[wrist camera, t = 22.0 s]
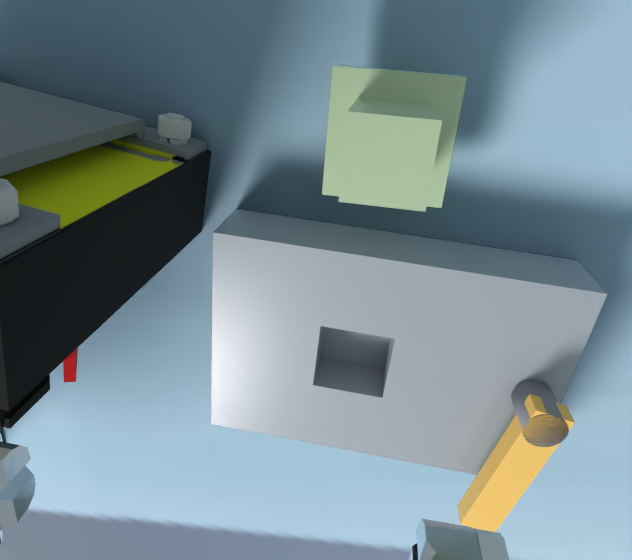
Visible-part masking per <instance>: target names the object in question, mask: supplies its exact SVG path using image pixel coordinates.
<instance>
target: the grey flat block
mask: <svg viewBox="0 0 632 560" xmlns="http://www.w3.org/2000/svg"><path fill="white" fill-rule="evenodd" d="M606 297H607V293H606V292H605V290H604V289H603V288H602V287H601V286H600V285H599V283H598V282H597V281H596V280H595V279H594V278H593V276H592V275H591V274H590V273H589V272H588V271H587V270H586V268H585V267H584V266H583V265H582V264H581V263H580V261H579V260H573V259H566V258H559V257H553V256H546V255H540V254H533V253H526V252H520V251H513V250H506V249H500V248H493V247H486V246H480V245H473V244H467V243H460V242H453V241H447V240H440V239H433V238H427V237H420V236H414V235H407V234H400V233H394V232H387V231H380V230H374V229H367V228H361V227H354V226H347V225H341V224H334V223H327V222H321V221H314V220H307V219H301V218H294V217H288V216H281V215H274V214H268V213H261V212H254V211H248V210H241V209H236V210H235V211H234V212H233V213H232V214H231V215H230V216H229V217H228V218H227V219H226V220H225V221H224V222H223V223H222V224H221V225H220V226H219V227H218V228H217V229H216V230H215V231H214V232H213V281H212V406H211V424H215V425H221V426H226V427H231V428H236V429H241V430H247V431H252V432H257V433H262V434H267V435H272V436H278V437H283V438H288V439H293V440H298V441H304V442H309V443H314V444H319V445H324V446H330V447H335V448H340V449H345V450H350V451H356V452H361V453H366V454H371V455H376V456H382V457H387V458H392V459H397V460H402V461H408V462H413V463H418V464H423V465H428V466H433V467H439V468H444V469H449V470H454V471H459V472H465V473H470V474H475V475H478V473H479V472H480V470H481V469H482V467H483V465H484V464H485V462H486V461H487V459H488V458H489V456H490V455H491V453H492V451H493V450H494V448H495V447H496V445H497V444H498V442H499V441H500V439H501V437H502V436H503V434H504V433H505V431H506V430H507V428H508V427H509V425H510V423H511V422H512V420H513V419H514V417H515V416H516V413H515V410H514V406H513V403H512V400H511V394H512V391H513V390H514V388H515V387H516V386H517V385H519V384H521V383H523V382H526V381H531V380H536V381H541V382H544V383H546V384H547V385H548V386H549V387H550V388H551V389H552V391H553V394H554V396H555V398H556V400H557V402H558V403H559V404H560V403H561V401H562V399H563V396H564V394H565V392H566V389H567V387H568V385H569V383H570V380H571V378H572V376H573V373H574V371H575V369H576V366H577V364H578V362H579V359H580V357H581V355H582V352H583V350H584V348H585V345H586V343H587V341H588V338H589V336H590V334H591V331H592V329H593V327H594V324H595V322H596V320H597V317H598V315H599V313H600V311H601V308H602V306H603V304H604V301H605V299H606Z"/></svg>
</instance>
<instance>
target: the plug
mask: <svg viewBox="0 0 632 560" xmlns="http://www.w3.org/2000/svg"><path fill="white" fill-rule="evenodd" d="M466 81H467V77H465V76H460V75H448V74H437V73H425V72H413V71H402V70H390V69H378V68H367V67H355V66H343V65H333V66H332V75H331V88H330V100H329V113H328V125H327V137H326V150H325V162H324V175H323V187H322V195H330V196H339V202H345V203H353V204H362V205H371V206H379V207H388V208H397V209H405V210H414V211H423V212H426V207H436V208H442V203H443V198H444V193H445V187H446V182H447V177H448V172H449V167H450V162H451V157H452V152H453V147H454V142H455V137H456V132H457V127H458V122H459V116H460V111H461V106H462V101H463V96H464V91H465V86H466Z"/></svg>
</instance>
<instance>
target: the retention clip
mask: <svg viewBox="0 0 632 560" xmlns="http://www.w3.org/2000/svg"><path fill="white" fill-rule="evenodd" d="M511 400H512V403H513V406H514V410H515V413H516V416H515V417H514V419H513V420H512V422H511V423H510V425H509V427H508V428H507V430H506V431H505V433H504V434H503V436H502V437H501V439H500V441H499V442H498V444H497V445H496V447H495V448H494V450H493V451H492V453H491V455H490V456H489V458H488V459H487V461H486V462H485V464H484V465H483V467H482V469H481V470H480V472H479V473H478V475H477V476H476V478H475V479H474V481H473V483H472V484H471V486H470V487H469V489H468V490H467V492H466V493H465V495H464V497H463V498H462V500H461V501H460V503H459V504H458V511H459V518H460V524H462V525H465V526H469V527H472V528H475V529H481V530H486V531H491V532H496V530H497V529H498V527H499V526H500V525H501V523H502V522H503V521H504V519H505V518H506V517H507V515H508V514H509V512H510V511H511V510H512V508H513V507H514V506H515V504H516V503H517V501H518V500H519V499H520V497H521V496H522V495H523V493H524V492H525V490H526V489H527V488H528V486H529V485H530V484H531V482H532V481H533V479H534V478H535V477H536V475H537V474H538V473H539V471H540V470H541V468H542V467H543V466H544V464H545V463H546V462H547V460H548V459H549V457H550V456H551V455H552V453H553V452H554V451H555V449H556V448H557V447H558V445H559V444H560V443H561V442H562V441H563V440H564V439H565V438H566V437H567V435H568V432H569V430H570V429H571V427H572V426H573V425H574V423H575V422H574V420H573V418H572V416H571V414H570V412H569V410H568V408H567V406H565V405H562V404H559V403H558V402H557V400H556V398H555V396H554V394H553V391H552V389H551V388H550V387H549V386H548V385H547V384H546V383H544V382H541V381H536V380H531V381H526V382H523V383H521V384H519V385H517V386H516V387H515V388H514V390H513V391H512V394H511Z"/></svg>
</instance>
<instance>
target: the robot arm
mask: <svg viewBox="0 0 632 560" xmlns="http://www.w3.org/2000/svg"><path fill="white" fill-rule="evenodd" d="M29 460H30V456H29V452H28V448H27V447H24V446H19V445H15V444H10V443H6V442H3V440H2V436H1V433H0V544H1V543H2V531H3V530H5V529H7V528H8V527H10V526H12V525H14V524H16V523H18V521H19V520H20V519H21V517H22V516H23V515H24V513H25V512H26V511H27V509H28V507H29V505H30V503H31V500H32V498H33V496H34V491H35V479H34V475H33V473H32V472H31V471H30V470H29V469H28V468H27V467H26V466H25V465H26V464H27V463H28V461H29ZM409 560H509V556H508V552H507V548H506V544H505V540H504V538H503V536H502V535H501V533H497V532H491V531H486V530H481V529H475V528H472V527H467V526H461V525H455V524H449V523H444V522H438V521H432V520H426V519H421V521H420V522H419V525H418V528H417V544H415V545H414V546H412V549H411V553H410V557H409Z"/></svg>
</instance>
